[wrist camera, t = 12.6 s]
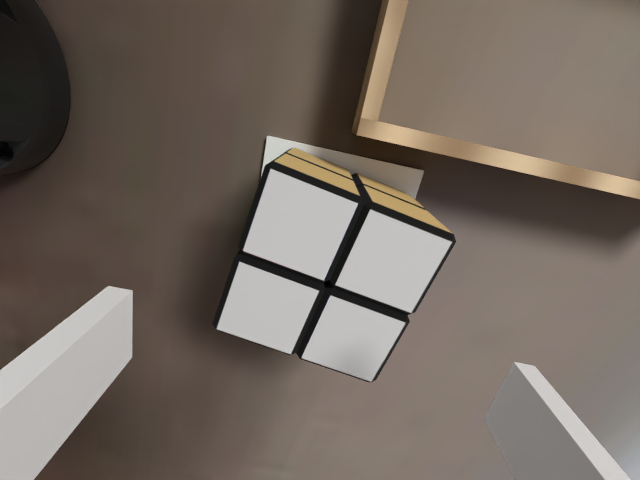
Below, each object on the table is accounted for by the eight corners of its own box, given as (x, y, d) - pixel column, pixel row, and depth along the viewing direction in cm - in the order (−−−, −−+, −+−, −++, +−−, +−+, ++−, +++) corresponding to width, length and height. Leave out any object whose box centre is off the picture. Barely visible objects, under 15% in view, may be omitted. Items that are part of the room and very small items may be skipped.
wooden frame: (351, 132, 24) (356, 135, 19) (424, -179, 18) (457, -284, 13) (676, 206, 25) (756, 225, 20) (840, -64, 19) (1004, -123, 15)
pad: (246, 277, 28) (245, 279, 28) (268, 135, 24) (267, 135, 24) (380, 303, 29) (380, 306, 28) (422, 170, 25) (424, 170, 24)
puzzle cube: (359, 299, 28) (374, 388, 19) (250, 260, 27) (208, 332, 18) (412, 194, 25) (462, 237, 16) (290, 145, 24) (265, 158, 15)
